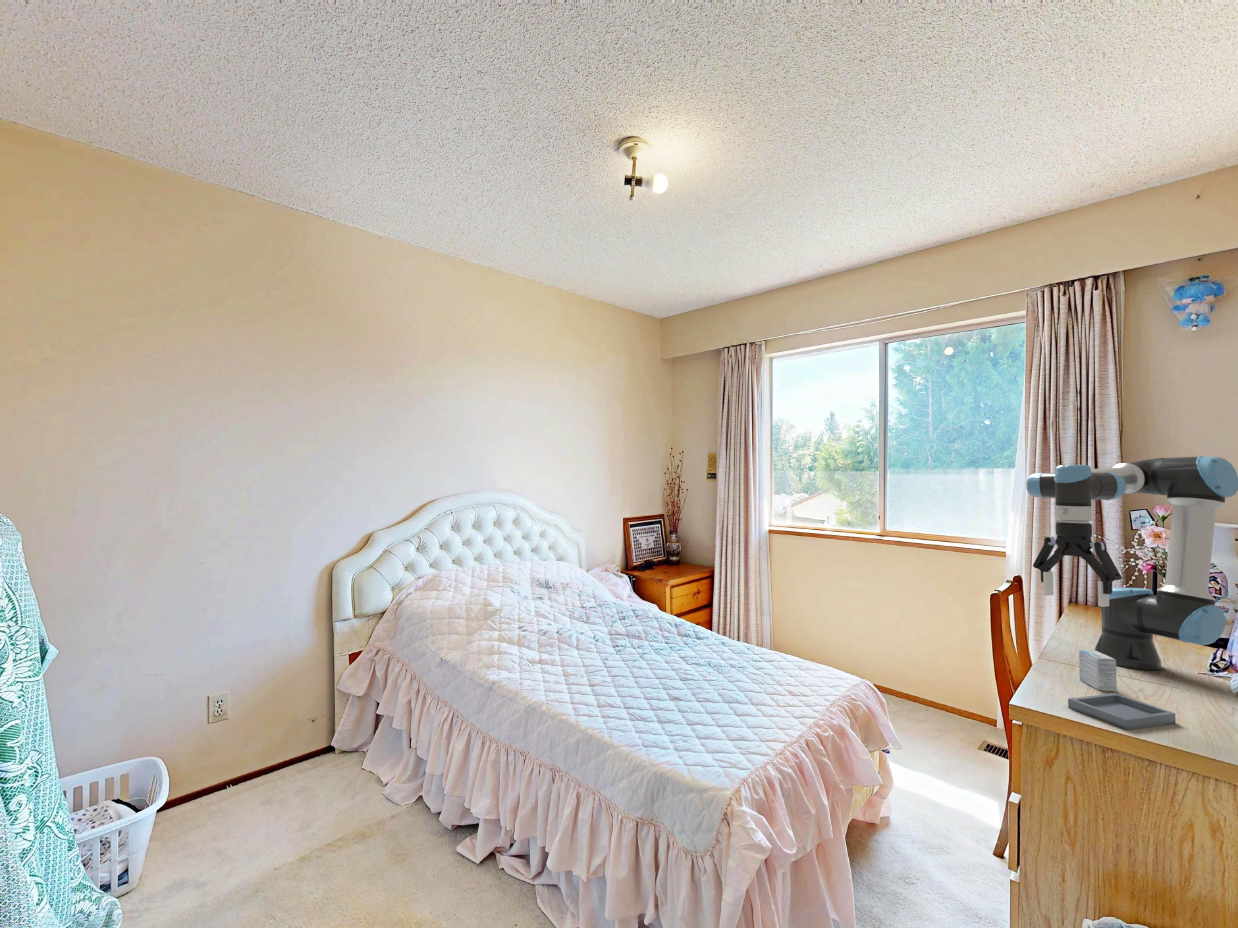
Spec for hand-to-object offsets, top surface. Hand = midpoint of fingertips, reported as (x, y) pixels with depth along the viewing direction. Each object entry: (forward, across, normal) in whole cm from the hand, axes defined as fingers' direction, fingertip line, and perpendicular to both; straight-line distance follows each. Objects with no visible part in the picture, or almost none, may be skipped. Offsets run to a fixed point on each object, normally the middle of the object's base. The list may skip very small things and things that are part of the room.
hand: (1074, 600), depth 143 cm
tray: (+23, +15, -8) cm, 29 cm away
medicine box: (+24, 0, +8) cm, 25 cm away
